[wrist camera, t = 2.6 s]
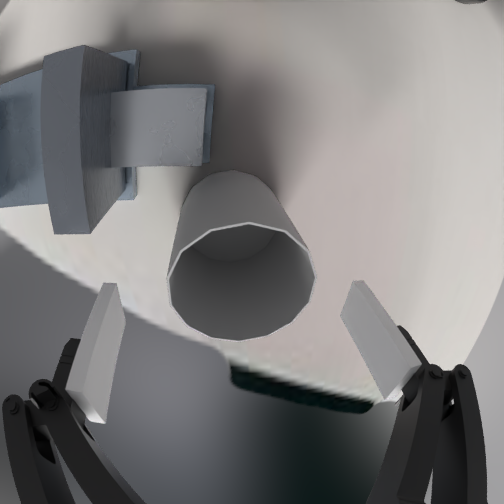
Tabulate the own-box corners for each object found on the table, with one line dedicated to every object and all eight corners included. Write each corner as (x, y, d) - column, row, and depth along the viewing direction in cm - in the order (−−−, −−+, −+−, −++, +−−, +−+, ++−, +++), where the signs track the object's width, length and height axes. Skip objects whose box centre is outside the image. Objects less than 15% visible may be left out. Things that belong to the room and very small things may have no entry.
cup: (173, 248, 24) (159, 330, 16) (193, 160, 20) (180, 206, 12) (261, 265, 26) (284, 346, 18) (291, 186, 23) (340, 244, 14)
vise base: (-17, 95, 12) (-80, 111, 4) (218, 50, 16) (224, 13, 8) (-8, 204, 18) (-60, 249, 10) (207, 195, 22) (206, 253, 14)
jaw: (92, 67, 14) (38, 58, 7) (210, 58, 15) (210, 32, 9) (93, 190, 19) (49, 234, 12) (201, 189, 20) (197, 234, 14)
